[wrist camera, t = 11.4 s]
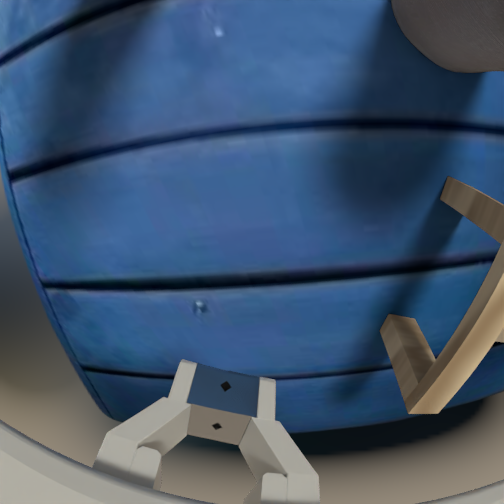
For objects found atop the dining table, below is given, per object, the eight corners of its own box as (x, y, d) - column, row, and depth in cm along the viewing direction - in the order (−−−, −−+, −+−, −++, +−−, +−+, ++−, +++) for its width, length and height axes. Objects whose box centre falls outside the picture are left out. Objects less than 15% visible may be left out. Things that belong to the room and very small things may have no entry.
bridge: (474, 188, 20) (551, 235, 12) (405, 335, 27) (437, 413, 18) (448, 175, 20) (526, 220, 11) (379, 330, 27) (408, 413, 18)
